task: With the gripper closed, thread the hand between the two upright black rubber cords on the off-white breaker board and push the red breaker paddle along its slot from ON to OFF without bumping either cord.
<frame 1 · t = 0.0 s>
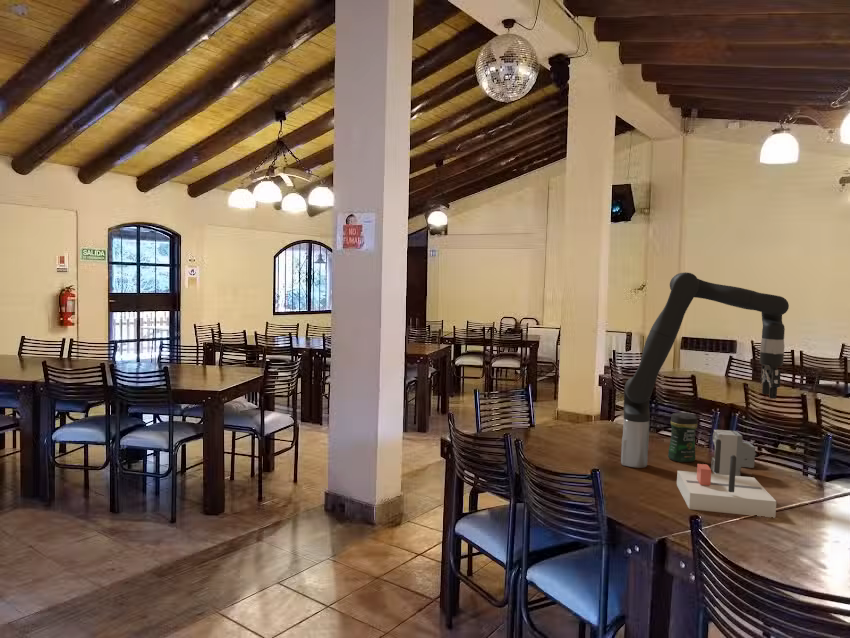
hand: (769, 396, 229), 29 cm above the table, fingers open, 8 cm apart
cord right: (732, 474, 193), point 11 cm above the table, hinge at 0.0°
breaker board: (722, 500, 203), on the table
circuit breaker: (734, 474, 233), on the table
breaker paddle: (703, 474, 204), point 8 cm above the table, slide at 0.0 cm
coffee jar: (681, 460, 249), on the table
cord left: (717, 457, 212), point 11 cm above the table, hinge at 0.0°
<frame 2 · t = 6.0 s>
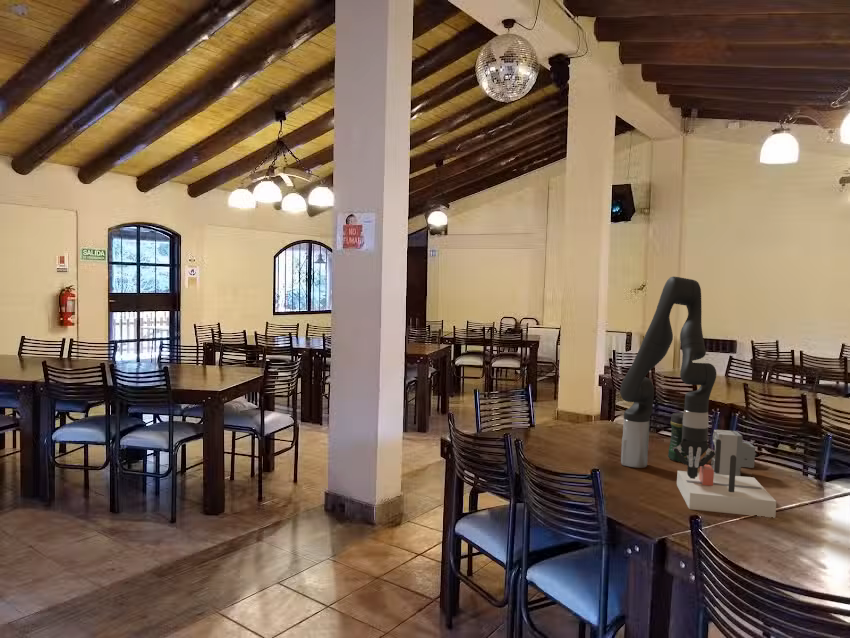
hand: (692, 477, 205), 6 cm above the table, fingers closed
breaker paddle: (706, 474, 204), point 8 cm above the table, slide at 0.8 cm, touching gripper
everything else where it was.
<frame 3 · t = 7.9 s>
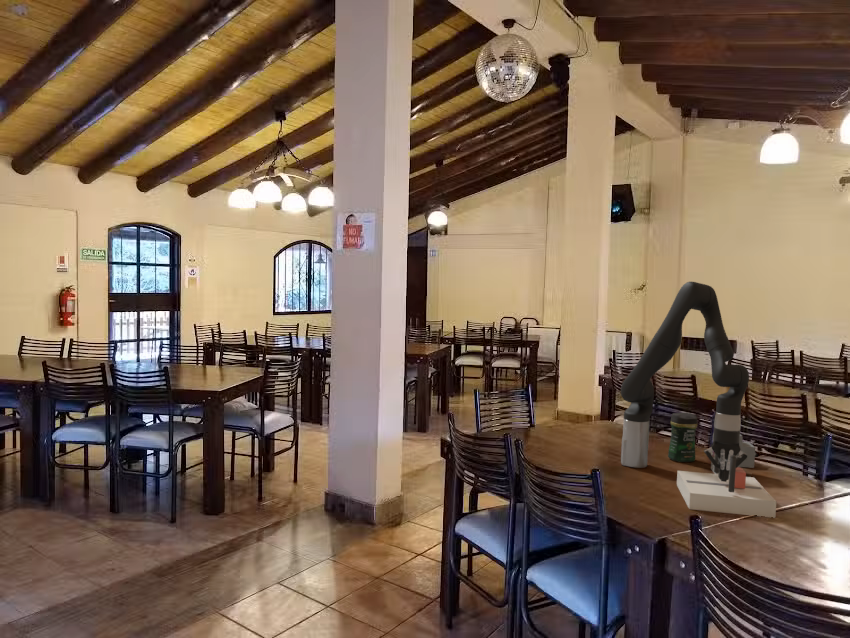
hand: (723, 480, 203), 6 cm above the table, fingers closed
breaker paddle: (737, 477, 202), point 8 cm above the table, slide at 10.1 cm, touching gripper
everything else where it was.
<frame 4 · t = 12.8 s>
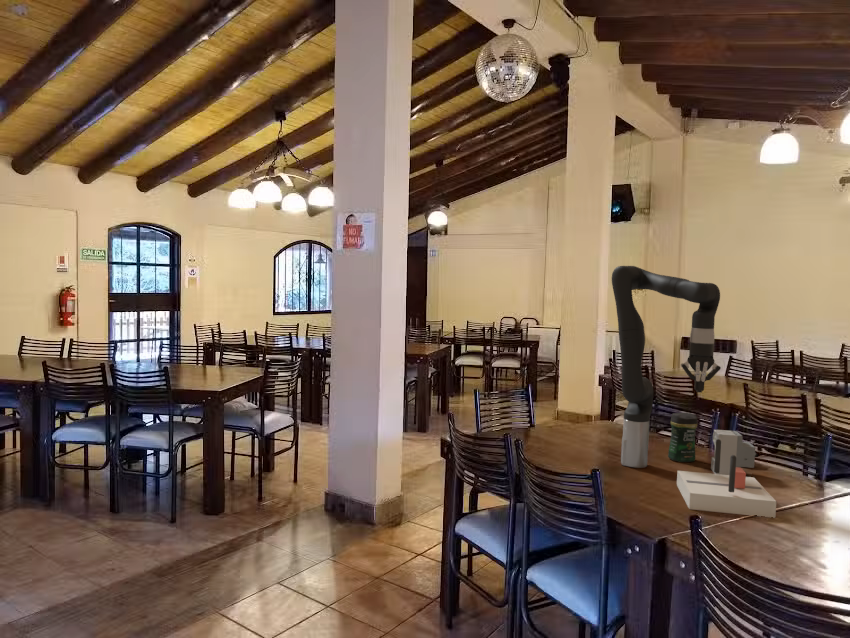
hand: (699, 391, 217), 32 cm above the table, fingers closed
breaker paddle: (737, 477, 202), point 8 cm above the table, slide at 10.1 cm
everything else where it was.
at the end: breaker paddle slide at 10.1 cm; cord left at +0° (first picture: +0°); cord right at +0° (first picture: +0°) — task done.
